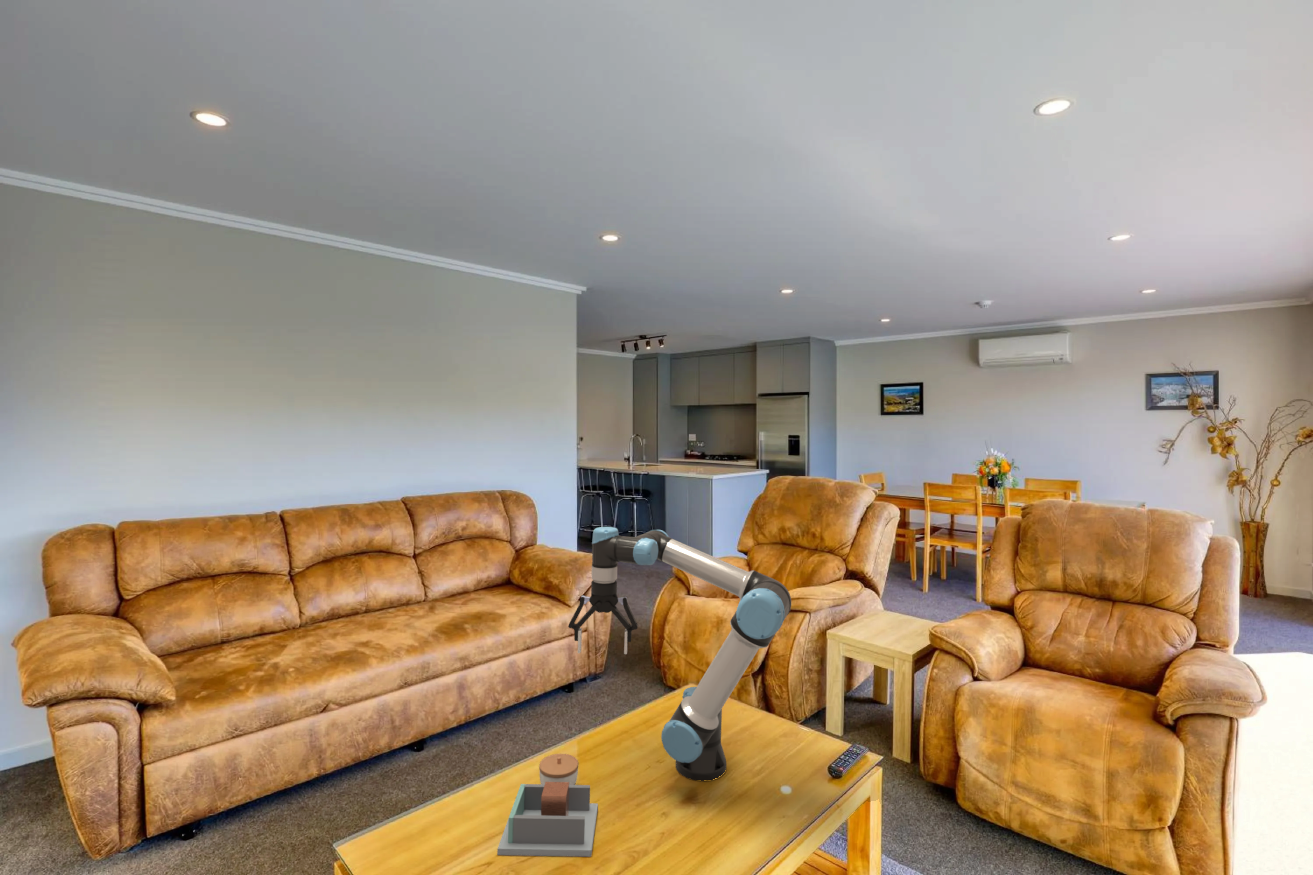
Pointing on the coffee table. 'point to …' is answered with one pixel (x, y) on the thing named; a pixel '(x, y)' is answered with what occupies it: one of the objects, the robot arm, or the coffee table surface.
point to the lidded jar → (559, 769)
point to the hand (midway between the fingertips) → (602, 652)
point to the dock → (549, 825)
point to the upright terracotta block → (555, 799)
